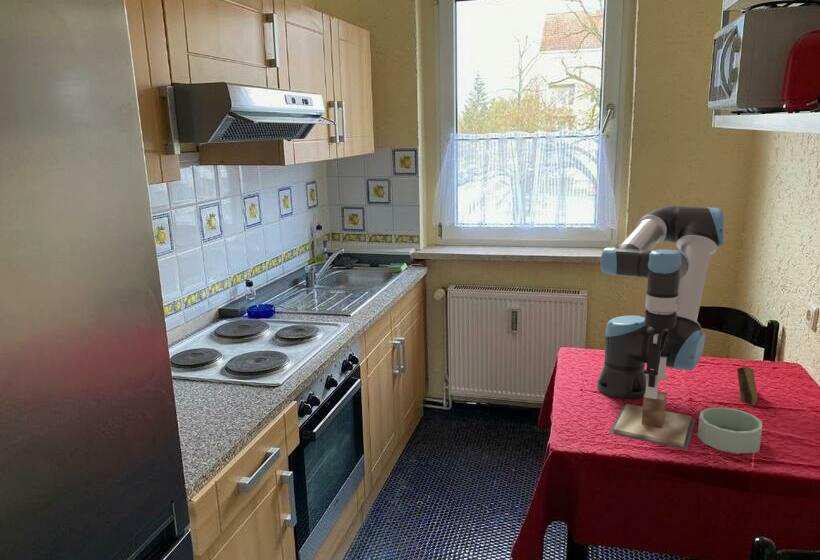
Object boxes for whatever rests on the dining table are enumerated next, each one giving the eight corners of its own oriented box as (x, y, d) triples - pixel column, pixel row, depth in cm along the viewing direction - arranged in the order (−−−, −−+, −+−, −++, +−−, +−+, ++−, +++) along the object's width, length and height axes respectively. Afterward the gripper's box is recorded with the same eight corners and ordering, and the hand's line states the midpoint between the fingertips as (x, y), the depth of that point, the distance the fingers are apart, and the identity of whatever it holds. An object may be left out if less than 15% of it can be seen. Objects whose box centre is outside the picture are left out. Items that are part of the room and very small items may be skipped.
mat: (608, 435, 161) (608, 433, 161) (623, 407, 177) (623, 405, 177) (687, 452, 152) (687, 449, 152) (695, 420, 168) (695, 418, 168)
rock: (741, 378, 189) (720, 381, 184) (761, 362, 184) (740, 364, 179) (764, 409, 183) (743, 412, 178) (786, 393, 177) (764, 396, 172)
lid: (613, 432, 162) (615, 400, 160) (626, 407, 176) (628, 377, 174) (683, 447, 153) (686, 414, 151) (691, 419, 168) (693, 388, 165)
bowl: (695, 447, 154) (697, 425, 153) (700, 424, 166) (702, 403, 165) (759, 460, 147) (761, 437, 146) (760, 435, 159) (762, 414, 158)
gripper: (669, 325, 145) (663, 409, 149) (683, 300, 166) (677, 374, 170) (636, 321, 148) (631, 403, 153) (653, 297, 169) (648, 370, 174)
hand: (655, 388), depth 162 cm, fingers open, 13 cm apart
